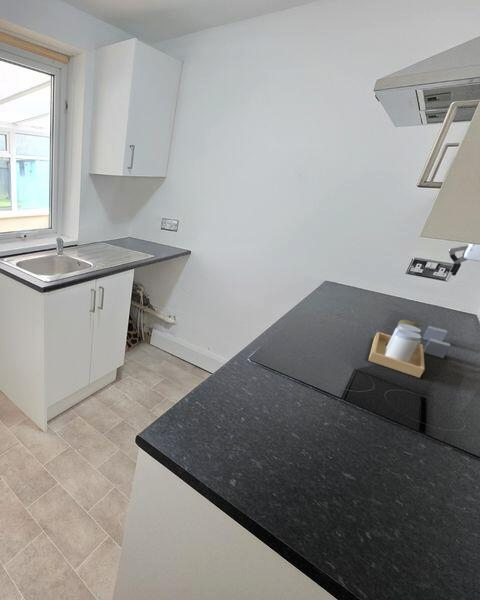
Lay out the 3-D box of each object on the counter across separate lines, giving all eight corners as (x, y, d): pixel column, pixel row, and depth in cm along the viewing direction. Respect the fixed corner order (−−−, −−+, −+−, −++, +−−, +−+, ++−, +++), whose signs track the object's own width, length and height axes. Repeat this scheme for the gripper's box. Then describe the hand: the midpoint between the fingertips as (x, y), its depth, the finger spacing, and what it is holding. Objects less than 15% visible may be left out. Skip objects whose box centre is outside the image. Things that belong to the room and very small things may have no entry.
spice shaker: (407, 355, 109) (422, 328, 105) (406, 362, 105) (422, 333, 101) (384, 348, 113) (398, 321, 109) (383, 354, 109) (397, 326, 105)
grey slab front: (442, 355, 112) (449, 343, 110) (443, 358, 110) (450, 346, 108) (423, 349, 115) (429, 338, 113) (423, 352, 113) (430, 340, 111)
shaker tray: (418, 352, 113) (423, 344, 112) (419, 377, 98) (424, 369, 97) (373, 339, 121) (377, 331, 120) (368, 360, 106) (372, 352, 105)
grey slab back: (440, 341, 122) (446, 330, 120) (440, 344, 120) (447, 332, 118) (422, 336, 125) (428, 325, 123) (422, 339, 123) (428, 328, 121)
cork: (390, 350, 112) (403, 323, 108) (382, 342, 117) (395, 316, 113) (411, 354, 110) (426, 326, 106) (402, 346, 115) (416, 319, 111)
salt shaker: (406, 362, 105) (422, 334, 101) (406, 369, 101) (422, 340, 97) (383, 355, 109) (397, 327, 104) (382, 361, 105) (396, 333, 101)
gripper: (546, 230, 94) (513, 283, 101) (461, 221, 105) (436, 270, 112) (554, 232, 89) (518, 288, 96) (464, 223, 100) (437, 274, 107)
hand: (474, 278), depth 104 cm, fingers open, 9 cm apart
